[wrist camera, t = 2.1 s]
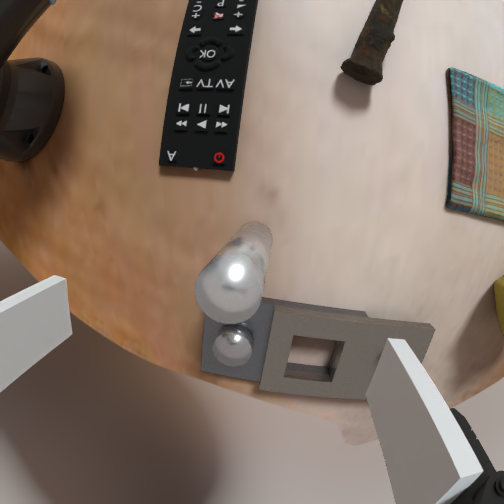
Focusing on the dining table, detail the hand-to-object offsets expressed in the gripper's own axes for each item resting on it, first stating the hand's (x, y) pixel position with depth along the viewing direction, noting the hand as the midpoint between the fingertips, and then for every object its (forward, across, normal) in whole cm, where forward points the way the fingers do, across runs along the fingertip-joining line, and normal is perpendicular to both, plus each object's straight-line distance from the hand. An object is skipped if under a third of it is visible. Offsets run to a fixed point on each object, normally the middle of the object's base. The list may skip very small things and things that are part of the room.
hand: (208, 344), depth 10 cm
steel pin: (+20, 0, 0) cm, 20 cm away
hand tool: (+20, +10, +27) cm, 35 cm away
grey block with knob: (+20, +12, -11) cm, 25 cm away
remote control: (+20, -7, +22) cm, 31 cm away
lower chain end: (+20, +4, -11) cm, 23 cm away
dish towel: (+21, +31, +16) cm, 41 cm away
